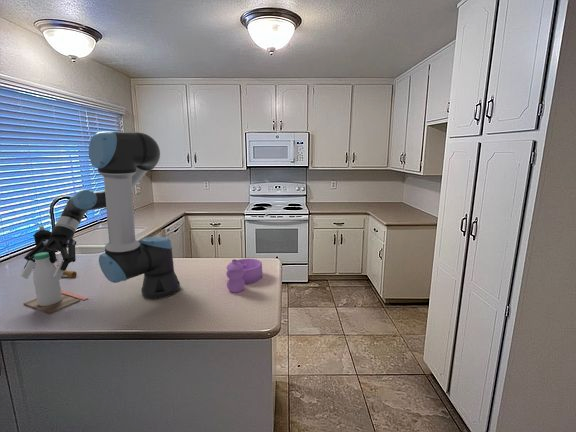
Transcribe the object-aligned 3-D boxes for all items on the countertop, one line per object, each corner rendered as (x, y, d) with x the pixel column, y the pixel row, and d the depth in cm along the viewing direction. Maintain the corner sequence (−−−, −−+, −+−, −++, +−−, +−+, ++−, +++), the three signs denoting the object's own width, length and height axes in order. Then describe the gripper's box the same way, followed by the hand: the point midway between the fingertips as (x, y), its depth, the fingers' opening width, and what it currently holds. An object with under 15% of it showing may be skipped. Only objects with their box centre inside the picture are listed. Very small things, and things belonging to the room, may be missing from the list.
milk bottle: (66, 300, 126) (57, 252, 122) (43, 308, 119) (33, 258, 115) (57, 296, 130) (48, 249, 126) (34, 303, 123) (24, 255, 119)
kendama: (82, 276, 156) (51, 269, 159) (80, 265, 153) (49, 258, 156) (69, 285, 149) (37, 277, 152) (66, 273, 146) (34, 266, 149)
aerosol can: (49, 264, 170) (43, 228, 166) (34, 264, 170) (27, 228, 166) (60, 259, 178) (54, 224, 174) (46, 259, 178) (39, 224, 174)
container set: (235, 270, 155) (233, 244, 152) (265, 271, 152) (264, 245, 149) (215, 293, 130) (213, 262, 128) (251, 295, 128) (249, 264, 125)
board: (80, 301, 126) (79, 299, 126) (49, 314, 116) (49, 312, 116) (54, 293, 134) (54, 292, 134) (23, 304, 124) (23, 303, 124)
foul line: (87, 299, 128) (87, 298, 127) (84, 300, 126) (84, 299, 126) (59, 290, 136) (59, 289, 136) (55, 291, 135) (55, 291, 135)
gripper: (98, 234, 133) (76, 282, 122) (44, 234, 136) (18, 280, 124) (86, 225, 127) (63, 274, 115) (30, 224, 130) (2, 273, 118)
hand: (40, 277), depth 120 cm, fingers open, 13 cm apart
